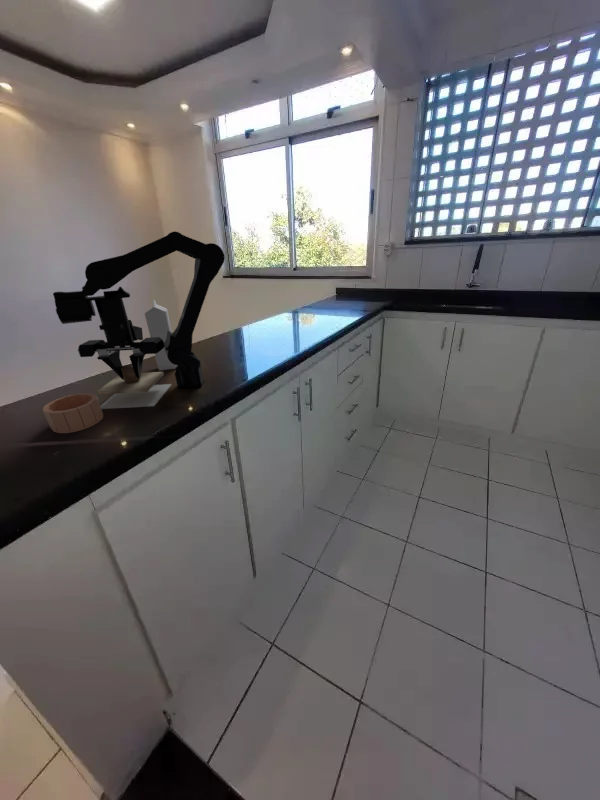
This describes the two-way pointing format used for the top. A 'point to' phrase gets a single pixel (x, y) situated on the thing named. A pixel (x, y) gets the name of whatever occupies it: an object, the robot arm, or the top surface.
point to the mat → (136, 398)
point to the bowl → (73, 412)
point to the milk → (159, 332)
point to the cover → (131, 382)
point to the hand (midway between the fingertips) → (131, 378)
